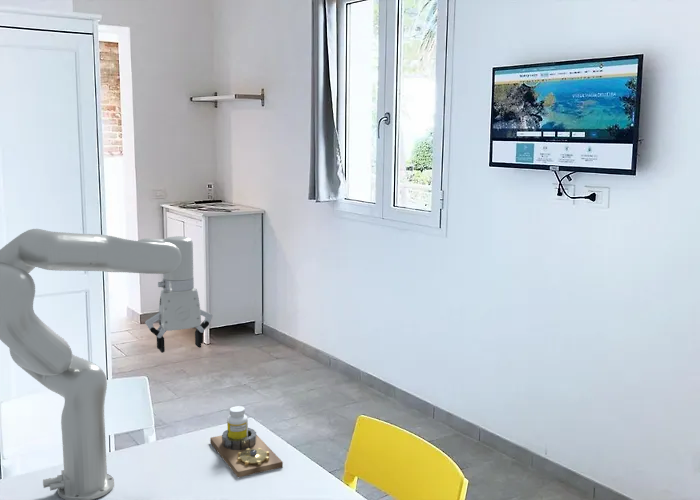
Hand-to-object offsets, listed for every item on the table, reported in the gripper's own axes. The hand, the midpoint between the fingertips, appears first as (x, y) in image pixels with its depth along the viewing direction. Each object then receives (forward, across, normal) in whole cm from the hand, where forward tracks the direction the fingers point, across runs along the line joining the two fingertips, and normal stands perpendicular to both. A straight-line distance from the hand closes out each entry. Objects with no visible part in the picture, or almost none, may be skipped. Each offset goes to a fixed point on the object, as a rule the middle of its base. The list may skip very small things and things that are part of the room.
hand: (180, 348), depth 185 cm
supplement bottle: (+27, +14, -6) cm, 31 cm away
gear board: (+28, +14, -10) cm, 33 cm away
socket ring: (+27, +14, -5) cm, 31 cm away
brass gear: (+27, +14, -16) cm, 34 cm away
